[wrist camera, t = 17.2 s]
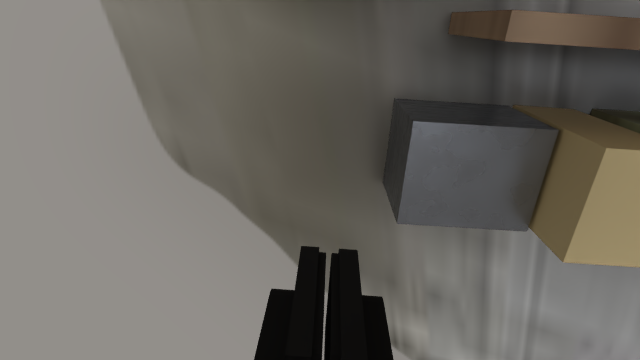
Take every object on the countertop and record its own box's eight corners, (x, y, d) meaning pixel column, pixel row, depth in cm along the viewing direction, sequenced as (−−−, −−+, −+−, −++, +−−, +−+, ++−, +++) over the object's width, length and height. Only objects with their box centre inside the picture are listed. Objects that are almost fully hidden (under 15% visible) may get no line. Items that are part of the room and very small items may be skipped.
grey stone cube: (507, 105, 25) (558, 130, 20) (486, 188, 27) (526, 231, 22) (394, 98, 25) (413, 121, 19) (382, 181, 27) (397, 223, 22)
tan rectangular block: (573, 109, 25) (696, 154, 17) (546, 191, 27) (642, 267, 19) (513, 105, 25) (606, 147, 17) (491, 188, 27) (563, 262, 19)
